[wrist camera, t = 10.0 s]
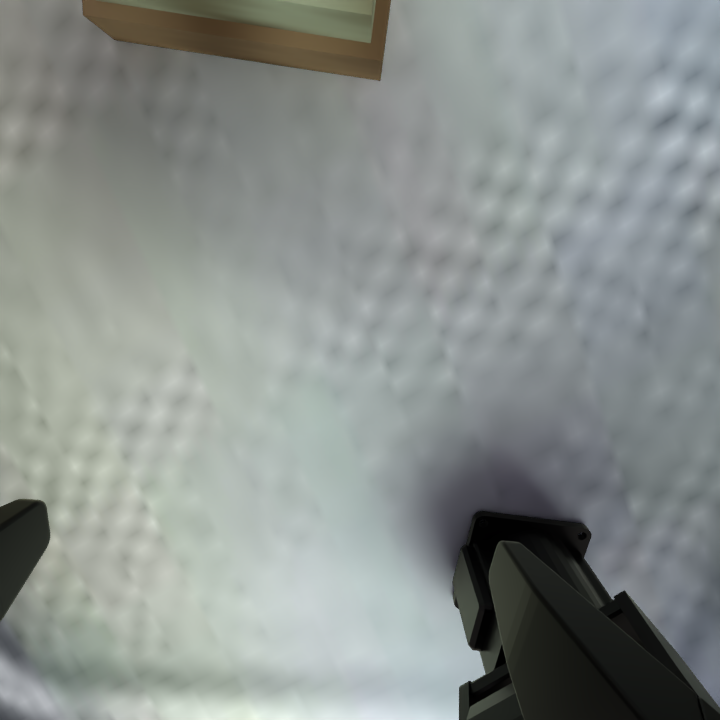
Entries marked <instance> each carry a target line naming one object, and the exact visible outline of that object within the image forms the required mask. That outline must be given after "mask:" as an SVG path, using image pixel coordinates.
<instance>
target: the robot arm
mask: <svg viewBox="0 0 720 720" xmlns="http://www.w3.org/2000/svg"><path fill="white" fill-rule="evenodd" d="M481 520H486V521H485V522H483V523H480V521H481ZM581 532H583V533H582V534H580V535H578V534H579V533H581ZM590 539H591V532H590V531H589V529H588V528H587V527H586V526H585V525H584V524H579V523H572V522H564V521H556V520H548V519H540V518H532V517H524V516H517V515H509V514H501V513H493V512H485V511H480V512H477V513H476V514H475V515H474V517H473V519H472V523H471V527H470V531H469V535H468V539H467V543H466V545H464V546H463V547H462V548H461V550H460V554H459V558H458V562H457V566H456V570H455V574H454V578H453V586H454V594H453V600H454V605H455V606H456V607H457V608H458V609H459V610H460V614H461V618H462V622H463V626H464V630H465V634H466V638H467V642H468V645H469V646H470V648H471V649H472V650H477V651H480V655H481V658H482V662H483V666H484V669H485V673H486V674H485V675H484V676H482V677H480V678H478V679H477V680H475V681H473V682H471V681H468V682H466V683H465V684H463V685H461V686H460V687H459V720H720V708H719V706H718V705H717V704H716V702H715V701H714V700H713V698H712V697H711V696H710V695H709V693H708V692H707V691H706V689H705V688H704V687H703V685H702V684H701V683H700V682H699V680H698V679H697V678H696V676H695V675H694V674H693V672H692V671H691V670H690V669H689V667H688V666H687V665H686V663H685V662H684V661H683V659H682V658H681V657H680V656H679V654H678V653H677V652H676V651H675V649H674V648H673V647H672V646H671V645H670V644H669V642H668V641H667V640H666V639H665V638H664V636H663V635H662V634H661V633H660V632H659V630H658V629H657V628H656V627H655V626H654V625H653V623H652V622H651V621H650V620H649V619H648V617H647V616H646V615H645V614H644V613H643V612H642V610H641V609H640V608H639V607H638V606H637V604H636V603H635V602H634V601H633V600H632V599H631V597H630V596H629V595H628V594H627V593H626V591H625V590H624V591H623V592H621V593H619V594H617V595H616V596H614V598H615V599H614V600H612V598H611V597H610V596H609V594H608V593H607V591H606V590H605V588H604V587H603V585H602V584H601V582H600V581H599V579H598V578H597V576H596V575H595V574H594V572H593V571H592V569H591V568H590V566H589V565H588V563H587V562H586V560H585V559H584V556H585V553H586V550H587V547H588V544H589V541H590ZM49 540H50V528H49V521H48V513H47V507H46V504H45V503H44V502H43V501H41V500H32V499H18V500H15V501H13V502H11V503H8V504H6V505H3V506H1V507H0V622H1V620H2V619H3V617H4V616H5V614H6V613H7V611H8V609H9V608H10V606H11V605H12V603H13V601H14V600H15V598H16V597H17V595H18V593H19V592H20V590H21V589H22V587H23V585H24V584H25V582H26V580H27V579H28V577H29V576H30V574H31V572H32V571H33V569H34V568H35V566H36V564H37V563H38V561H39V560H40V558H41V556H42V555H43V553H44V551H45V550H46V548H47V546H48V544H49Z"/></svg>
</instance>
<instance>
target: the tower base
mask: <svg viewBox="0 0 720 720" xmlns="http://www.w3.org/2000/svg"><path fill="white" fill-rule="evenodd" d="M82 3H83V15H84V16H85V17H86V18H88V19H89V20H90V21H91V22H93V23H94V24H95V25H96V26H98V27H99V28H100V29H102V30H103V31H104V32H105V33H107V34H108V35H109V36H110V37H112V38H113V39H114V40H118V41H125V42H131V43H138V44H144V45H151V46H157V47H164V48H170V49H177V50H183V51H190V52H197V53H203V54H210V55H216V56H223V57H229V58H236V59H242V60H249V61H255V62H262V63H268V64H275V65H281V66H288V67H294V68H301V69H307V70H314V71H321V72H327V73H334V74H340V75H347V76H353V77H360V78H366V79H373V80H379V81H380V79H381V72H382V64H383V57H384V49H385V41H386V34H387V26H388V19H389V11H390V3H391V0H82Z"/></svg>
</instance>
